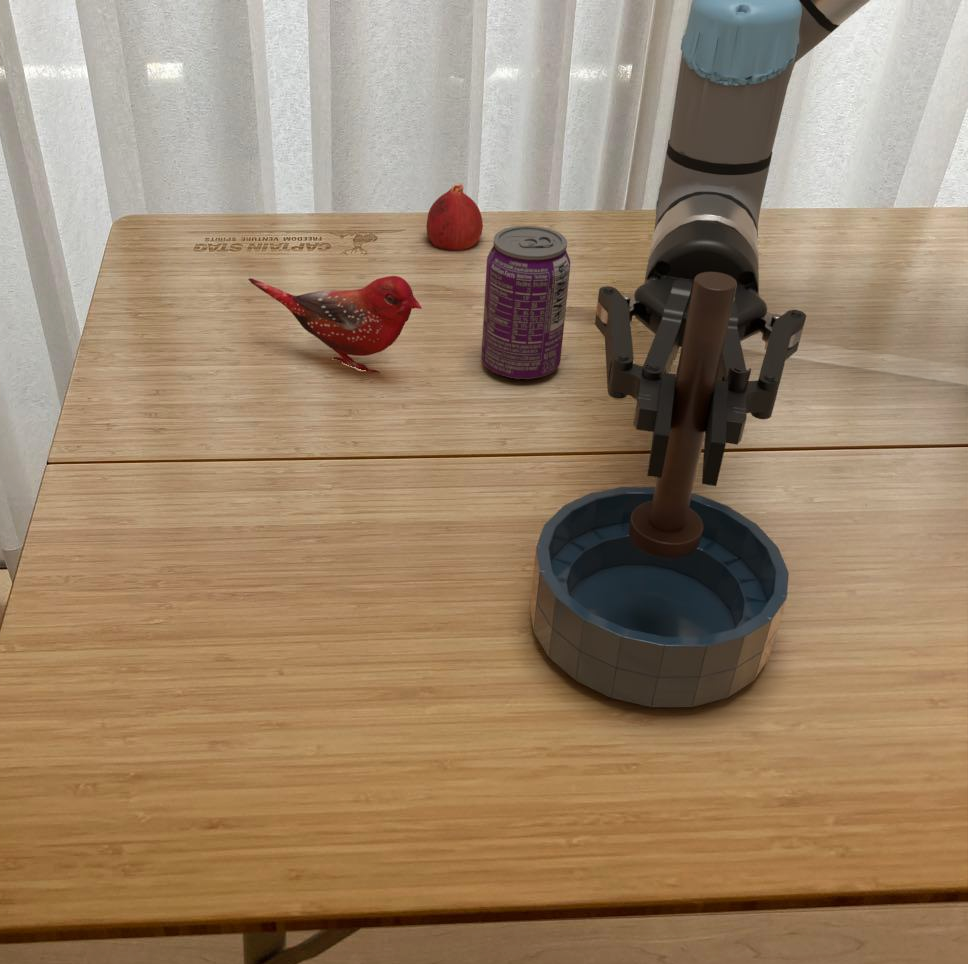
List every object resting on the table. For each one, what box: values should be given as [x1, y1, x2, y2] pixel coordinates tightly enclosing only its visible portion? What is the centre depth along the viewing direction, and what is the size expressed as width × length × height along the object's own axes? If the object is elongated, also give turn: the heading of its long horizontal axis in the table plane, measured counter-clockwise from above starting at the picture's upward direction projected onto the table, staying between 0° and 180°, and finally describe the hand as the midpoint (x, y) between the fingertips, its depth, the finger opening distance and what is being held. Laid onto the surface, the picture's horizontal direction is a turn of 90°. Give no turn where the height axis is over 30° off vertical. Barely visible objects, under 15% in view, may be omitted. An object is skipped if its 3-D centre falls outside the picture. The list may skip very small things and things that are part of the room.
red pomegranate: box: [426, 182, 484, 251], centre depth 115 cm, size 6×6×8 cm
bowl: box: [529, 486, 790, 708], centre depth 72 cm, size 16×16×6 cm
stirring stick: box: [629, 272, 737, 559], centre depth 64 cm, size 4×4×17 cm
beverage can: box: [480, 225, 571, 380], centre depth 97 cm, size 7×7×12 cm
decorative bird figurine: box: [248, 275, 422, 375], centre depth 97 cm, size 3×18×10 cm, turn 62°
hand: (685, 459), depth 59 cm, fingers closed on stirring stick, 2 cm apart
